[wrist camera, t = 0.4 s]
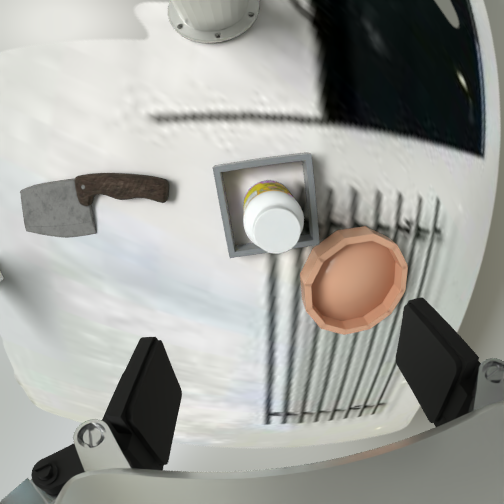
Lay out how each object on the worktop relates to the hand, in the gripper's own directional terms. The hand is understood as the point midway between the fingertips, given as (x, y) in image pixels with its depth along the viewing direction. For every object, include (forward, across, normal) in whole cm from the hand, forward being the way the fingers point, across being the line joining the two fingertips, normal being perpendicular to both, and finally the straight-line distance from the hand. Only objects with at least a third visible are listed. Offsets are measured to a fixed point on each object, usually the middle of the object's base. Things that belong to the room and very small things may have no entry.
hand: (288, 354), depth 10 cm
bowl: (+32, -14, +14) cm, 38 cm away
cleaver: (+32, +27, -4) cm, 42 cm away
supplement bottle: (+32, -1, 0) cm, 32 cm away
